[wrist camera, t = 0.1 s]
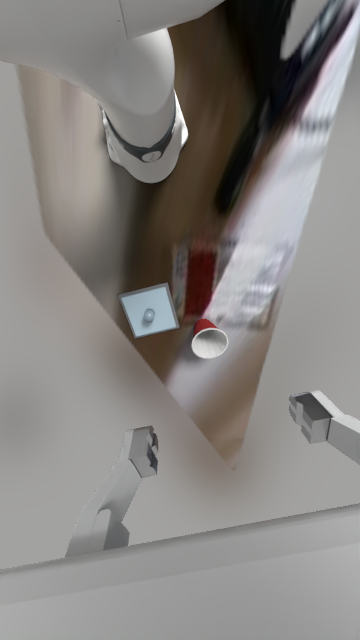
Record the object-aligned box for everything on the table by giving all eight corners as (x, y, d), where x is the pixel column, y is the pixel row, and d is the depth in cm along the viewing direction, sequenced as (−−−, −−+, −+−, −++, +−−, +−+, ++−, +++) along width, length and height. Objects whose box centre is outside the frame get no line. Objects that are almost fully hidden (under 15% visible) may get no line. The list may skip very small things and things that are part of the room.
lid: (121, 297, 55) (117, 302, 51) (165, 286, 55) (164, 290, 50) (136, 335, 61) (134, 342, 57) (176, 325, 60) (176, 332, 56)
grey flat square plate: (118, 294, 55) (117, 295, 55) (167, 282, 55) (167, 282, 54) (135, 337, 62) (134, 338, 61) (179, 327, 61) (179, 327, 61)
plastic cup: (188, 341, 64) (192, 362, 53) (186, 314, 59) (190, 330, 48) (218, 338, 64) (228, 358, 53) (218, 310, 60) (229, 326, 49)
